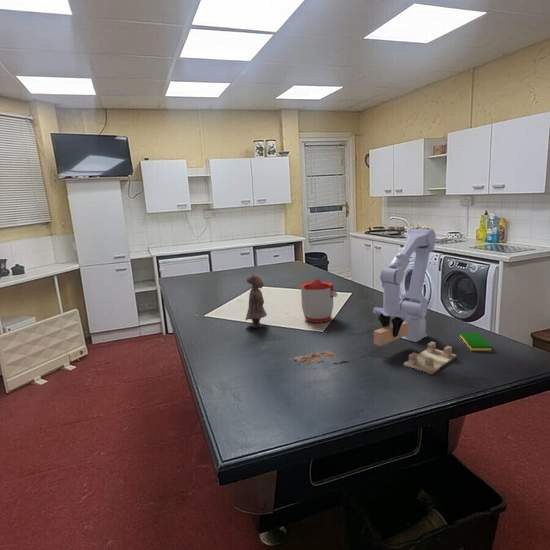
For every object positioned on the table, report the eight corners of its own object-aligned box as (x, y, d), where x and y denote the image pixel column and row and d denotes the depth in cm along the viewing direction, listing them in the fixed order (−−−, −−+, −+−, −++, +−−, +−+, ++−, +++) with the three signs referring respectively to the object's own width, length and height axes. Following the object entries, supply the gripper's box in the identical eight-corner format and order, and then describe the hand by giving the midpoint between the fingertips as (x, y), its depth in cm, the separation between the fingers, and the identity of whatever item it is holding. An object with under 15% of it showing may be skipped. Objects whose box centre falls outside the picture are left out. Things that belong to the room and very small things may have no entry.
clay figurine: (268, 329, 175) (265, 276, 170) (246, 332, 174) (242, 277, 169) (265, 320, 188) (262, 270, 183) (245, 322, 187) (241, 272, 181)
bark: (334, 349, 150) (334, 348, 150) (350, 361, 140) (350, 359, 139) (282, 361, 143) (282, 360, 143) (294, 374, 132) (294, 373, 132)
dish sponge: (470, 352, 142) (471, 346, 141) (459, 338, 155) (459, 332, 155) (491, 353, 141) (492, 346, 140) (478, 338, 154) (479, 332, 154)
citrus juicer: (334, 326, 176) (333, 283, 171) (297, 323, 181) (296, 282, 177) (340, 315, 190) (339, 275, 186) (306, 313, 196) (304, 274, 192)
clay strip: (400, 332, 151) (401, 320, 150) (407, 334, 148) (407, 322, 147) (373, 343, 142) (373, 330, 141) (380, 346, 139) (380, 333, 138)
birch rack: (429, 349, 145) (429, 339, 144) (456, 357, 138) (456, 346, 137) (403, 365, 134) (403, 354, 133) (431, 374, 126) (431, 363, 125)
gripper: (368, 299, 145) (368, 333, 148) (403, 306, 134) (402, 343, 137) (379, 295, 149) (379, 328, 152) (414, 301, 138) (413, 337, 141)
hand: (391, 334), depth 145 cm, fingers closed on clay strip, 3 cm apart
